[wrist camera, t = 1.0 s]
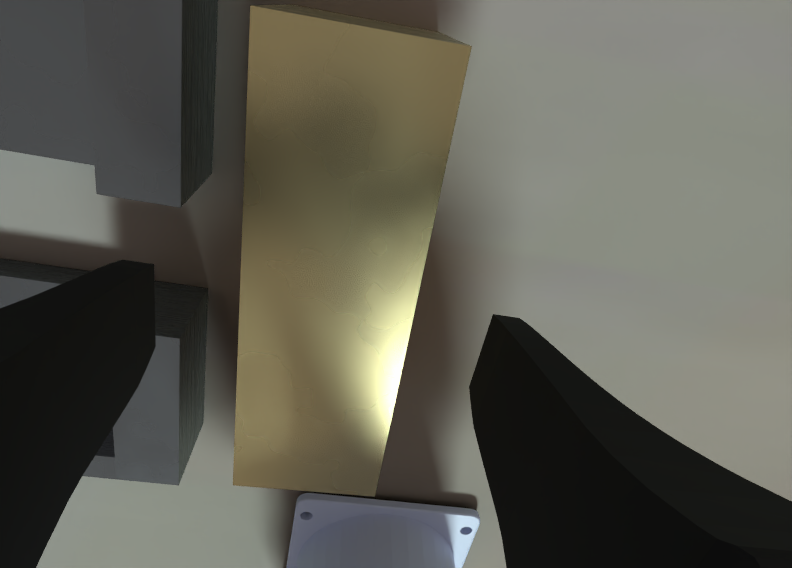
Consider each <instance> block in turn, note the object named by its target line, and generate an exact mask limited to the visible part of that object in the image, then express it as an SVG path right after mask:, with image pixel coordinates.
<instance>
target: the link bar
mask: <svg viewBox="0 0 792 568" xmlns="http://www.w3.org/2000/svg"><path fill="white" fill-rule="evenodd" d="M471 47H472V46H470V45H467V44H465V43H463V42H460V41H458V40H456V39H453V38H451V37H449V36H447V35H444V34H442V33H440V32H436V31H431V30H425V29H420V28H415V27H409V26H404V25H398V24H393V23H388V22H382V21H377V20H372V19H366V18H361V17H356V16H350V15H345V14H340V13H334V12H329V11H323V10H318V9H313V8H307V7H302V6H297V5H291V4H286V5H250V30H249V57H248V84H247V112H246V139H245V167H244V194H243V222H242V249H241V277H240V304H239V332H238V359H237V386H236V414H235V441H234V469H233V485H237V486H250V487H262V488H274V489H287V490H299V491H311V492H324V493H336V494H348V495H361V496H373V497H375V494H376V489H377V485H378V480H379V475H380V471H381V466H382V461H383V457H384V452H385V447H386V443H387V438H388V433H389V429H390V424H391V419H392V415H393V410H394V405H395V401H396V396H397V392H398V387H399V382H400V378H401V373H402V368H403V364H404V359H405V354H406V350H407V345H408V340H409V336H410V331H411V326H412V322H413V317H414V312H415V308H416V303H417V298H418V294H419V289H420V284H421V280H422V275H423V270H424V266H425V261H426V257H427V252H428V247H429V243H430V238H431V233H432V229H433V224H434V219H435V215H436V210H437V205H438V201H439V196H440V191H441V187H442V182H443V177H444V173H445V168H446V163H447V159H448V154H449V149H450V145H451V140H452V136H453V131H454V126H455V122H456V117H457V112H458V108H459V103H460V98H461V94H462V89H463V84H464V80H465V75H466V70H467V66H468V61H469V56H470V52H471Z"/></svg>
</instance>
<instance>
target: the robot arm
mask: <svg viewBox="0 0 792 568" xmlns="http://www.w3.org/2000/svg"><path fill="white" fill-rule="evenodd" d="M155 347H156V337H155V288H154V264H148V263H141V262H134V261H128V260H121V261H117V262H114V263H111V264H109V265H106V266H103V267H101V268H98V269H96V270H94V271H91V272H89V273H86V274H84V275H82V276H79V277H77V278H75V279H72V280H70V281H68V282H65V283H63V284H60V285H58V286H56V287H53V288H51V289H49V290H46V291H44V292H41V293H39V294H37V295H34V296H32V297H29V298H26V299H24V300H21V301H18V302H16V303H13V304H10V305H8V306H5V307H2V308H0V568H36V566H37V564H38V562H39V560H40V558H41V556H42V553H43V551H44V549H45V547H46V545H47V543H48V541H49V539H50V537H51V535H52V533H53V531H54V529H55V527H56V525H57V523H58V521H59V518H60V516H61V514H62V512H63V510H64V508H65V506H66V504H67V502H68V500H69V498H70V497H71V495H72V493H73V491H74V490H75V488H76V486H77V484H78V483H79V481H80V479H81V477H82V476H83V474H84V473H85V471H86V469H87V468H88V466H89V465H90V463H91V461H92V460H93V458H94V457H95V455H96V454H97V452H98V450H99V449H100V447H101V446H102V444H103V442H104V441H105V439H106V438H107V436H108V435H109V433H110V431H111V430H112V428H113V427H114V425H115V423H116V422H117V420H118V419H119V417H120V416H121V414H122V412H123V411H124V409H125V407H126V406H127V404H128V403H129V401H130V399H131V398H132V396H133V394H134V393H135V391H136V389H137V388H138V386H139V384H140V382H141V379H142V377H143V375H144V373H145V371H146V369H147V366H148V364H149V361H150V359H151V357H152V354H153V352H154V350H155ZM469 389H470V400H471V409H472V417H473V425H474V430H475V434H476V438H477V442H478V445H479V449H480V453H481V457H482V461H483V465H484V468H485V472H486V476H487V480H488V483H489V487H490V491H491V495H492V498H493V502H494V506H495V510H496V513H497V517H498V522H499V526H500V531H501V535H502V540H503V547H504V553H505V560H506V566H507V568H792V501H789V500H787V499H785V498H783V497H781V496H779V495H777V494H775V493H773V492H771V491H769V490H767V489H765V488H763V487H761V486H759V485H757V484H755V483H752V482H750V481H748V480H746V479H744V478H743V477H741V476H739V475H737V474H735V473H733V472H731V471H729V470H727V469H726V468H724V467H722V466H720V465H718V464H716V463H715V462H713V461H711V460H709V459H708V458H706V457H704V456H702V455H701V454H699V453H697V452H696V451H694V450H692V449H690V448H689V447H687V446H685V445H683V444H682V443H680V442H679V441H677V440H675V439H674V438H672V437H671V436H669V435H667V434H666V433H664V432H663V431H661V430H660V429H658V428H657V427H655V426H654V425H652V424H651V423H649V422H648V421H646V420H645V419H644V418H642V417H641V416H639V415H638V414H636V413H635V412H633V411H632V410H631V409H629V408H628V407H626V406H625V405H624V404H622V403H621V402H620V401H618V400H617V399H616V398H615V397H613V396H612V395H611V394H610V393H608V392H607V391H606V390H604V389H603V388H602V387H601V386H599V385H598V384H597V383H596V382H594V381H593V380H592V379H591V378H590V377H588V376H587V375H586V374H585V373H584V372H582V371H581V370H580V369H579V368H578V367H577V366H575V365H574V364H573V363H572V362H571V361H570V360H568V359H567V358H566V357H565V356H564V355H563V354H562V353H560V352H559V351H558V350H557V349H556V348H555V347H554V346H553V345H551V344H550V343H549V342H548V341H547V340H546V339H545V338H544V337H542V336H541V335H540V334H539V333H538V332H537V331H535V330H534V329H533V328H532V327H531V326H529V325H528V324H527V323H526V322H524V321H523V320H521V319H520V318H515V317H508V316H501V315H494V314H493V316H492V319H491V322H490V325H489V328H488V331H487V334H486V337H485V340H484V343H483V346H482V349H481V352H480V356H479V359H478V362H477V365H476V368H475V371H474V374H473V377H472V380H471V383H470V386H469ZM479 524H480V517H479V514H478V512H477V511H476V510H474V509H470V508H459V507H449V506H439V505H429V504H419V503H408V502H398V501H388V500H378V499H368V498H357V497H347V496H337V495H327V494H317V493H304V494H301V495H300V496H299V497H298V498H297V502H296V508H295V514H294V521H293V527H292V534H291V540H290V547H289V553H288V559H287V566H286V568H462V567H463V564H464V562H465V559H466V557H467V554H468V552H469V549H470V547H471V544H472V542H473V539H474V537H475V534H476V532H477V529H478V527H479Z"/></svg>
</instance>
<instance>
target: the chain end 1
mask: <svg viewBox="0 0 792 568" xmlns="http://www.w3.org/2000/svg"><path fill="white" fill-rule="evenodd" d="M217 12H218V0H0V149H1V150H7V151H13V152H19V153H25V154H31V155H37V156H43V157H49V158H54V159H60V160H66V161H72V162H78V163H84V164H90V165H95V178H96V192H97V194H100V195H106V196H112V197H118V198H124V199H130V200H137V201H143V202H149V203H155V204H161V205H167V206H174V207H180V208H181V207H182V205H183V204H184V203H185V202H186V201H187V200H188V199H189V198H190V197H191V196H192V195H193V193H194V192H195V191H196V190H197V189H198V188H199V187H200V186H201V185H202V184H203V183H204V182H205V180H206V179H207V178H208V177H209V176H210V175H211V174H212V157H213V128H214V99H215V70H216V41H217Z"/></svg>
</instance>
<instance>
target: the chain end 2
mask: <svg viewBox="0 0 792 568" xmlns="http://www.w3.org/2000/svg"><path fill="white" fill-rule="evenodd" d="M89 272H90V271H83V270H76V269H69V268H62V267H55V266H48V265H41V264H34V263H27V262H20V261H13V260H7V259H0V308H2V307H5V306H8V305H10V304H13V303H16V302H18V301H21V300H24V299H26V298H29V297H32V296H34V295H37V294H39V293H41V292H44V291H46V290H49V289H51V288H53V287H56V286H58V285H60V284H63V283H65V282H68V281H70V280H72V279H75V278H77V277H79V276H82V275H84V274H86V273H89ZM154 288H155V337H156V347H155V350H154V352H153V354H152V357H151V359H150V361H149V364H148V366H147V369H146V371H145V373H144V375H143V377H142V379H141V382H140V384H139V386H138V388H137V389H136V391H135V393H134V394H133V396H132V398H131V399H130V401H129V403H128V404H127V406H126V407H125V409H124V411H123V412H122V414H121V416H120V417H119V419H118V420H117V422H116V423H115V425H114V427H113V428H112V430H111V431H110V433H109V435H108V436H107V438H106V439H105V441H104V442H103V444H102V446H101V447H100V449H99V450H98V452H97V454H96V455H95V457H94V458H93V460H92V461H91V463H90V465H89V466H88V468H87V469H86V471H85V473H84V474H83V476H88V477H99V478H109V479H119V480H130V481H140V482H150V483H161V484H171V485H179V483H180V480H181V478H182V475H183V473H184V470H185V468H186V465H187V463H188V460H189V458H190V455H191V453H192V450H193V448H194V445H195V442H196V440H197V437H198V435H199V432H200V430H201V427H202V425H203V417H204V388H205V359H206V330H207V301H208V288H201V287H194V286H187V285H180V284H173V283H166V282H159V281H154Z"/></svg>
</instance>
